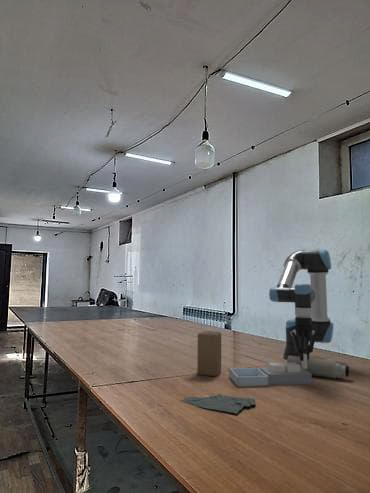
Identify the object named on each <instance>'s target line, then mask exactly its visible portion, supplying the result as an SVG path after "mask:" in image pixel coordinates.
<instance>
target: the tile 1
mask: <svg viewBox="0 0 370 493" xmlns="http://www.w3.org/2000/svg"><path fill="white" fill-rule="evenodd" d="M267 364H268V365H267V366H268V367H267V368H268V369H269V370H270V371H271V372H273V373H275V372H285V365H284V364H283V362H268V363H267Z"/></svg>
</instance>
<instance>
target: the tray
mask: <svg viewBox="0 0 370 493" xmlns="http://www.w3.org/2000/svg"><path fill="white" fill-rule="evenodd" d="M228 372H229V375H228V376H229V378H230V379H231V381H232V382H233V383H234V385H235V386H236V387H239V388H241V387H243V388H244V387H270V385H269V376H267V375H266V374H265V373H264V372H262V371H261V370H260V368H258V367H244V368H242V367H241V368H240V367H235V368H232V367H231V368H229V371H228Z"/></svg>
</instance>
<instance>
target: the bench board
mask: <svg viewBox="0 0 370 493" xmlns="http://www.w3.org/2000/svg"><path fill="white" fill-rule="evenodd" d="M259 369H260V370H261V371H262V372H264V373H265V374H266V375H267V376H269V386H271V385H276V386H277V385H280V386H281V385H312V383H313V382H312V376H313V375H312V374H311V373H310V372H308V371H306V370H304V369H303V368H301V367H300V372H286V371H285V372H275V373H273V372H271V371H270V370H269V369H268V367H260V368H259Z"/></svg>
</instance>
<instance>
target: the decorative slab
mask: <svg viewBox="0 0 370 493" xmlns="http://www.w3.org/2000/svg"><path fill="white" fill-rule="evenodd" d="M255 401H256V399H255V398H253V397H252V398H251V397H250V398H249V397H239V396H238V397H236V396H235V397H233V396H231V395H225V394H220V393H218V394H217V395H213V396H212V395H211V396H207V397H197V396H190V397H189V398H188V397H185V398H184V399H181V400H180V402H181V403H187V404H189V405H193V406H195V407H197V408H199V409H200V408H201V409H204V410H207V411H210V412H217V413H223V414H226V415H227V414H228V415H233V416H238V415H239V414H240V413H242V411H243V410H251V409H254V408H256V402H255Z"/></svg>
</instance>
